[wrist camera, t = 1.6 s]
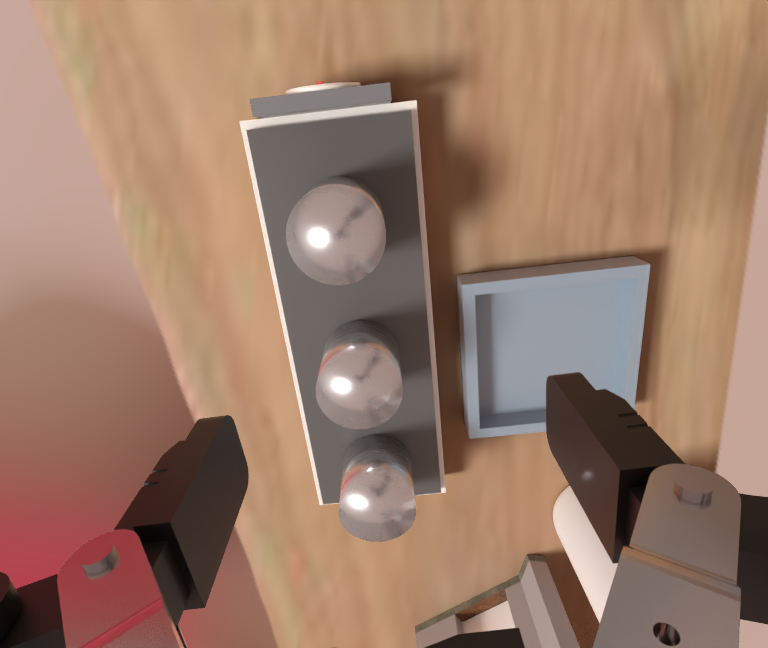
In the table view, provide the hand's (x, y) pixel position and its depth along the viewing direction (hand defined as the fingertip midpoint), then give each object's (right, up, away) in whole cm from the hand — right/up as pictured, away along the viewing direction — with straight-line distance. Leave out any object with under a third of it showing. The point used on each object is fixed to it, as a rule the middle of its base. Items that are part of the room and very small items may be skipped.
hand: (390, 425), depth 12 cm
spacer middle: (-2, +1, +20) cm, 20 cm away
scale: (-2, +2, +21) cm, 22 cm away
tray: (+11, +1, +22) cm, 25 cm away
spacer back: (-1, -8, +23) cm, 24 cm away
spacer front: (-3, +9, +16) cm, 19 cm away
